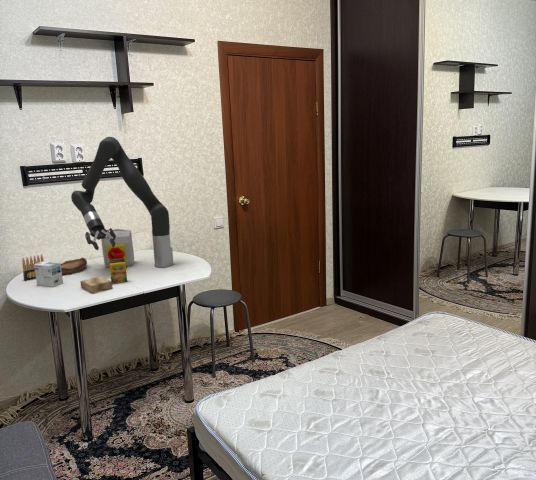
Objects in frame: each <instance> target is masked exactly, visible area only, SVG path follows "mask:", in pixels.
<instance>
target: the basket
mask: <svg viewBox="0 0 536 480" xmlns="http://www.w3.org/2000/svg"><path fill="white" fill-rule="evenodd" d="M87 265H88V261H87V258H86V257H81V258H76V259H71V260H70V259H69V260H66V261H63V263H61V271H62V276H63V275H70V274H75V273H77V272H79V271H82V270H83V269H85V267H87Z"/></svg>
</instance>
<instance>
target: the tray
mask: <svg viewBox="0 0 536 480" xmlns="http://www.w3.org/2000/svg"><path fill="white" fill-rule="evenodd" d="M79 282H80V288H81V289H83V290H84V291H85V292H88V293H90V294H91V295H92V294H96V293H100V292H104V291H108V290H112V289H113V284H112V281H111V279H107V278H104V277H102V276H100V275H99V276H97V277H92V278H87V279H83V280H80V281H79Z"/></svg>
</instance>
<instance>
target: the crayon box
mask: <svg viewBox="0 0 536 480" xmlns="http://www.w3.org/2000/svg"><path fill="white" fill-rule="evenodd" d="M114 260H120V261H118V262H116V261H115V262H114ZM109 273H110V281H112V285H113V284H119V283H120V284H121V283H126V282H127V283H128V276H127V275H128V274H127V266H126V263H125V258H120V259H111V260H110V267H109Z"/></svg>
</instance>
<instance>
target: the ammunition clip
mask: <svg viewBox="0 0 536 480" xmlns="http://www.w3.org/2000/svg"><path fill="white" fill-rule="evenodd" d="M21 260H22V261H21V262H22V273H23V276H22V277H23V281H25V282H28V281H32V280H36V275H35V268H34V264H37V263H40V262H43V261H45V260H44V256H43V254H40V256H39V254H37V255H36V256H35V255H33V257H32V256H31V255H30V257H28V256H26V259H25V257H22V259H21Z"/></svg>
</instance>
